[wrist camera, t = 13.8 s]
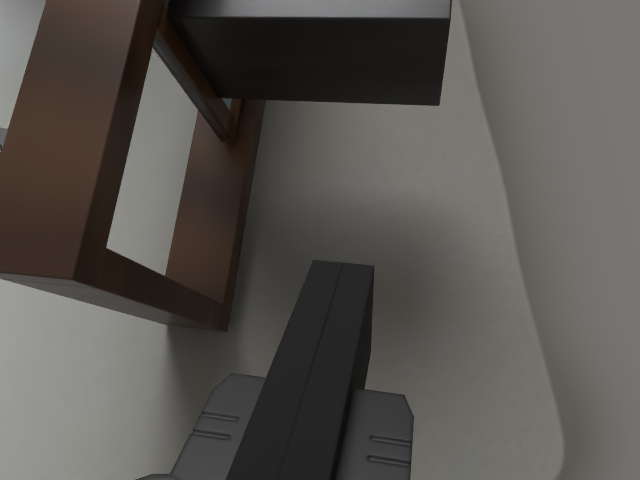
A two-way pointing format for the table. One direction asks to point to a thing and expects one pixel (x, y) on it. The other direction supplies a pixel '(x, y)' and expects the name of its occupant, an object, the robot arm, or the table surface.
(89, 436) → the table surface
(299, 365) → the robot arm
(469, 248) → the table surface
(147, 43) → the window frame
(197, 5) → the sliding pane
